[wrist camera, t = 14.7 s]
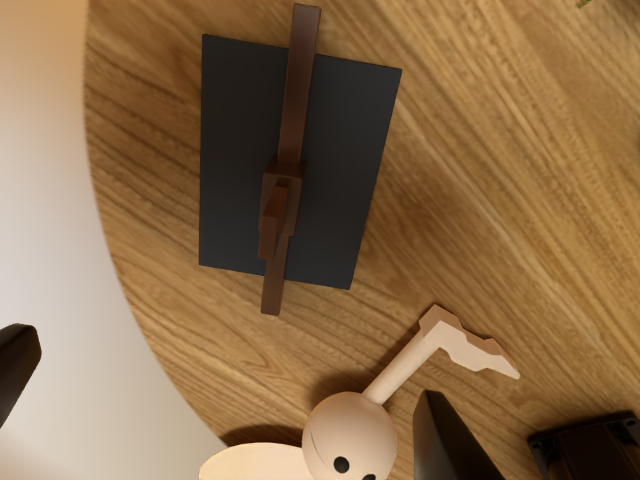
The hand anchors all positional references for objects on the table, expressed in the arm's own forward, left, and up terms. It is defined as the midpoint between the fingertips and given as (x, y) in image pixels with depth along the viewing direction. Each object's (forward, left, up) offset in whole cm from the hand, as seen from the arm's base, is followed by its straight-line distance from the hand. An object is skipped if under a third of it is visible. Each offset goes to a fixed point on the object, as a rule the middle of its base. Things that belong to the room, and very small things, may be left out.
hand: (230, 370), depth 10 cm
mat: (0, 0, -12) cm, 12 cm away
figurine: (-14, +1, -12) cm, 18 cm away
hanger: (0, 0, -11) cm, 11 cm away
